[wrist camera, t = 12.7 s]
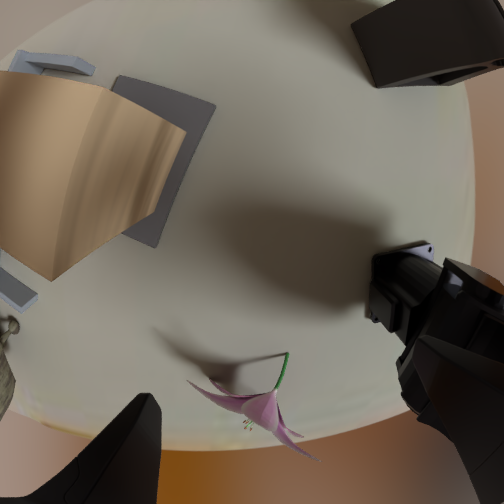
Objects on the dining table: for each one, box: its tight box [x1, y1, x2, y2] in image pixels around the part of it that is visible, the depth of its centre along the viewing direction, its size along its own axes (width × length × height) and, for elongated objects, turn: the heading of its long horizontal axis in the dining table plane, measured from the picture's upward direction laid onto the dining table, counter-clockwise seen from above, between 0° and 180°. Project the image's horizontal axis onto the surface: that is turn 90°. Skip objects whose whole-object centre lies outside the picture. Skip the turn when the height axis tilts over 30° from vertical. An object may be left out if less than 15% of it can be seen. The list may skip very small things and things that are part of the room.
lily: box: [187, 353, 320, 461], centre depth 21 cm, size 12×12×10 cm
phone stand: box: [351, 0, 504, 88], centre depth 9 cm, size 9×6×12 cm, turn 107°
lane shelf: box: [0, 50, 96, 314], centre depth 15 cm, size 7×22×4 cm, turn 155°
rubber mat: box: [112, 75, 216, 248], centre depth 17 cm, size 8×11×1 cm
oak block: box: [0, 71, 187, 282], centre depth 11 cm, size 6×6×12 cm
